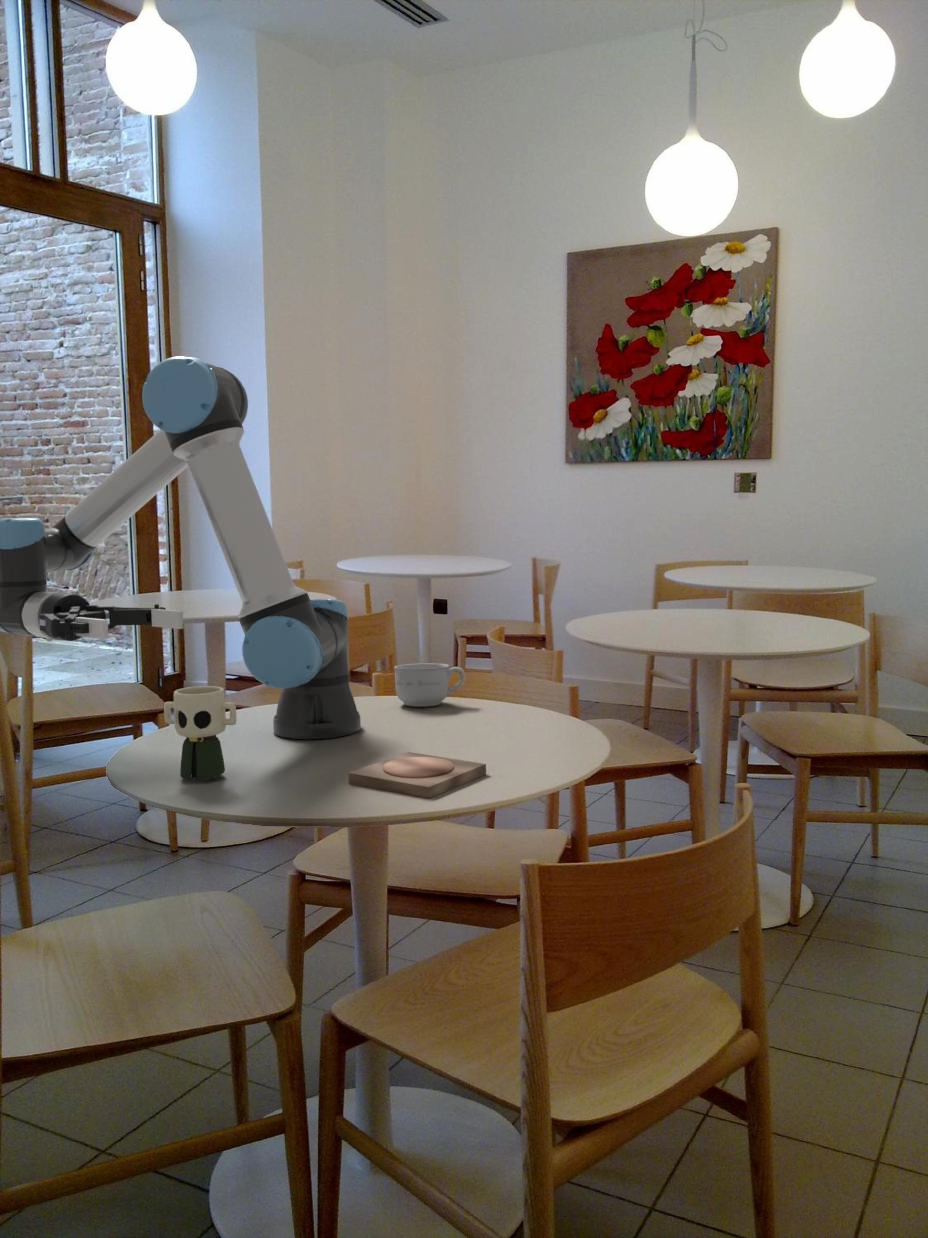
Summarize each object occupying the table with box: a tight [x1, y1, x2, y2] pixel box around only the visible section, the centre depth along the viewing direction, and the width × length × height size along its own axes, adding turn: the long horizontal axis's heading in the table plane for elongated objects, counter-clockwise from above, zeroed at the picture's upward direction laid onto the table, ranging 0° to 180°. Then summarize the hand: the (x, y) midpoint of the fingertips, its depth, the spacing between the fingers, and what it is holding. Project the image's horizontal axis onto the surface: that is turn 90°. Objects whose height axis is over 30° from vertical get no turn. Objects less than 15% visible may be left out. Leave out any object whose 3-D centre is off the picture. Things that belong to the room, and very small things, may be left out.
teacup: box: [394, 662, 467, 708], centre depth 196 cm, size 14×11×8 cm
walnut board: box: [348, 751, 487, 799], centre depth 143 cm, size 14×14×2 cm
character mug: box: [163, 685, 237, 781], centre depth 145 cm, size 11×7×13 cm, turn 82°
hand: (145, 624), depth 149 cm, fingers open, 13 cm apart
